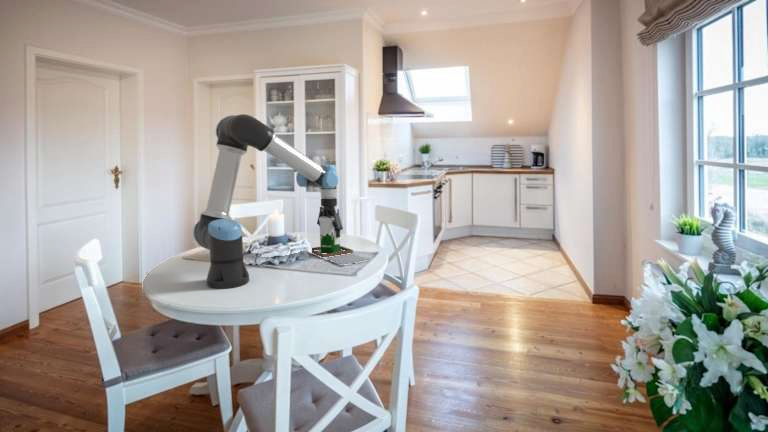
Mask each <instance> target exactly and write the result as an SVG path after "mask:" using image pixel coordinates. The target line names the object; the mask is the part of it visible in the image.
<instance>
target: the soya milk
mask: <svg viewBox="0 0 768 432" xmlns="http://www.w3.org/2000/svg"><path fill="white" fill-rule="evenodd" d="M318 217H319V216H318ZM332 220H334V218H329V217H327V216H321V217H319V222H320V226H319V240H320V245H319V247H321V251H320V253H327V254H329V253H335V252H339V251H340V252H341V250H340V246H341V243H340V244H336V245H335V244H334V226H333V224H332Z"/></svg>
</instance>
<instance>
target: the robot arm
mask: <svg viewBox="0 0 768 432" xmlns="http://www.w3.org/2000/svg"><path fill="white" fill-rule="evenodd" d="M215 135H216V138H217V140H216V148H217V150H219V151H218V156H217V159H216V164H215V169H214V174H213V178H212V183H211V186H210V191H209V196H208V201H207V205H206V209H205V210H203V211H202V212H201V214H200V218H199V220H198V222H196V224H195V225H194V227H193V231H192V232H193V233H192V234H193V238H194V240H195V241H196V243H197V244H198V245H199V246H200V247H201V248H204V249H206V250H209V257H210V266H209V269H208V273H207V277H206V285H207V286H208V287H209V288H213V289H230V288H237V287H241V286H244V285H246V284H248V283H249V282H250V273H249V272H248V268H247V266H246V264H245V261H244V247H243V245H244V243H243V229H242V228H243V227H242V224H241V223H240V222H239V221H237V220H234V219H232V217H231V215H230V209H231V207H232V202H233V197H234V192H235V186H236V182H237V180H238V173H239V169H240V164H241V162H242V161H241V160H242V156H243V155H245V154H247V151H248V147H252V148H254V149H256V150H258V151H259V152H266V153H267V154H269V155H270V156H272V157H273V158H275V159H277V160H278V161H280V162H281V163H282V164H285V165H286V166H288V167H289V168H290V169H292V170H294V171H295V172H297V173H296V175H295V176H296V177H295V180H296V184H297V185H298V186H299V187H300V188H307V187H309V188H319V189H320V198H321V199H320V207H319V213H318V217H317V222H316V224H317V225H318V226H319V227H320V222H319V217H321V216H327V217H329V218H334V220H332V224H333V226H334V244H335V245H336V244H340V245H341V231H342V230H343V229H344V227H343V224H342V220H341V216H340V211H339V208H335V207H336V206H337V205H338V199H337V196H338V195H337V192H338V191H337V185H338V183H339V175H338V174H337V167H336V165H334V164H321V165H320V164H318V163H316V162H315V161H314V160H313V159H311V158H309V157H308V156H307V155H305V154H304V153H302V152H301V151H299V150H298V149H297V148H295V147H293V146H292V144H289V143H288V142H286V141H285V140H283V139H282V138H281V137H279V136H277V134H276V133H275V130H273V129H272V128H270V126H268V125H266V124H265V123H263V122H262V121H261V120H259V119H257V118H255V117H254V116H252V115H249V114H244V113H243V114H235V115H234V114H233V115H228V116H225V117H223V118H222V119H220V120H219V121H218V122H217V124H216V127H215Z"/></svg>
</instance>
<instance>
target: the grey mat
mask: <svg viewBox="0 0 768 432" xmlns="http://www.w3.org/2000/svg"><path fill="white" fill-rule="evenodd" d="M327 259H329V260H332V261H334V262H337V263H339V264H342V265H343V264H348V263H354V262H359V261H364V260H369V261H370V259H369V258H366V257H363V256H360V255H357V254H356V253H355V254H354V253H353V254H352V253H351V254H345V255H340V256H334V257H328V258H327Z"/></svg>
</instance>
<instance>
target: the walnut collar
mask: <svg viewBox="0 0 768 432" xmlns="http://www.w3.org/2000/svg"><path fill="white" fill-rule="evenodd" d="M311 248H312V253H314V254H316V255H319V256H321V257H329V256H335V255H341V254H347V253H353V254H354V250H353V249H351V248H349V247H345V246H342V245H340V249H342V250H345V251H341V250H340V252H335V253H329V254H322V253H321V252H320V251H314V250H321V246H317V247H311Z"/></svg>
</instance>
